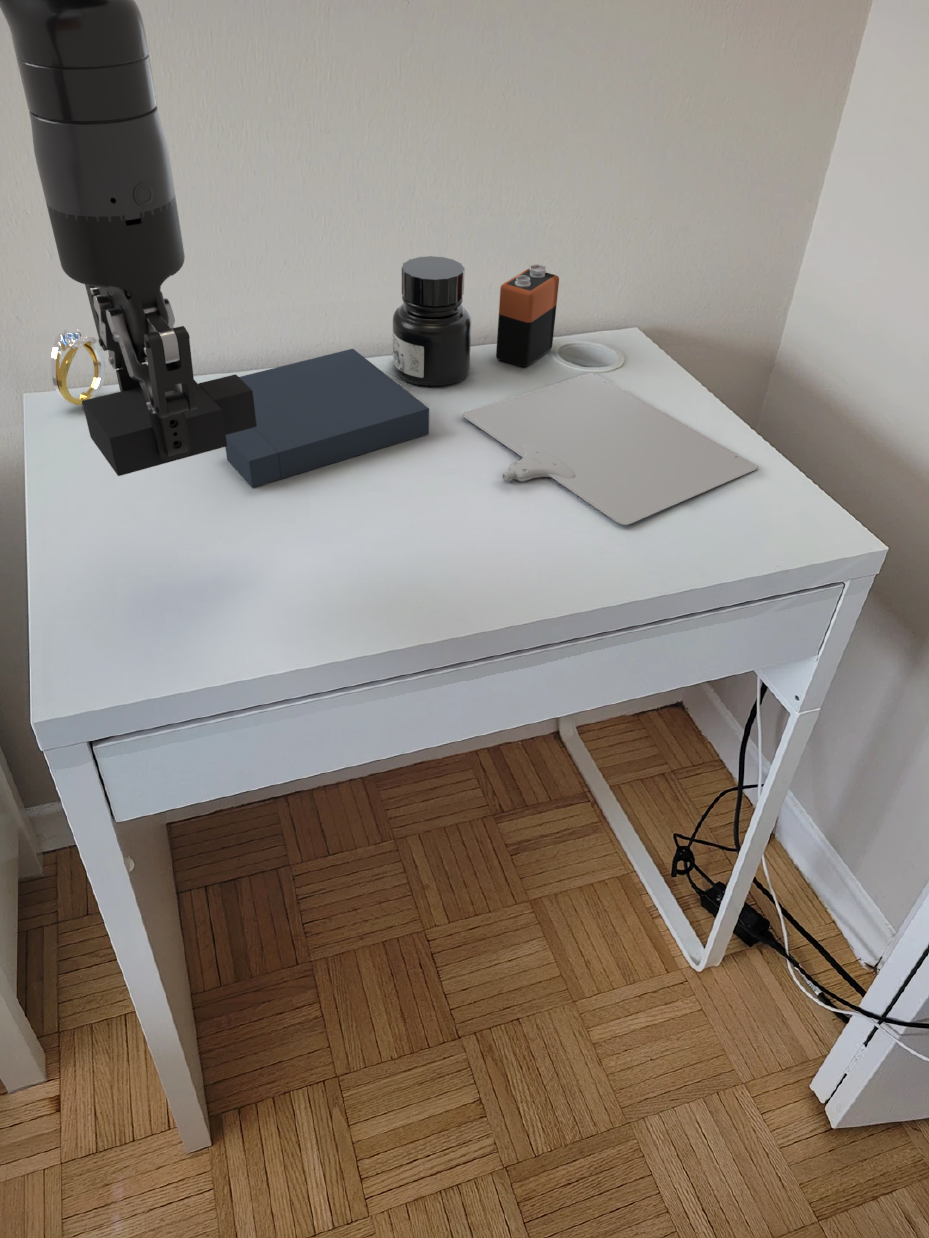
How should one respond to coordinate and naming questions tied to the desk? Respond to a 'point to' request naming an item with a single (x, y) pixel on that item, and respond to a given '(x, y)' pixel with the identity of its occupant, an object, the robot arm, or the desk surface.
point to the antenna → (607, 447)
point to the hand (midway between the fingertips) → (157, 434)
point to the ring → (61, 371)
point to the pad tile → (129, 433)
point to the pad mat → (321, 416)
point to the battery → (527, 316)
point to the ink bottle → (432, 323)
